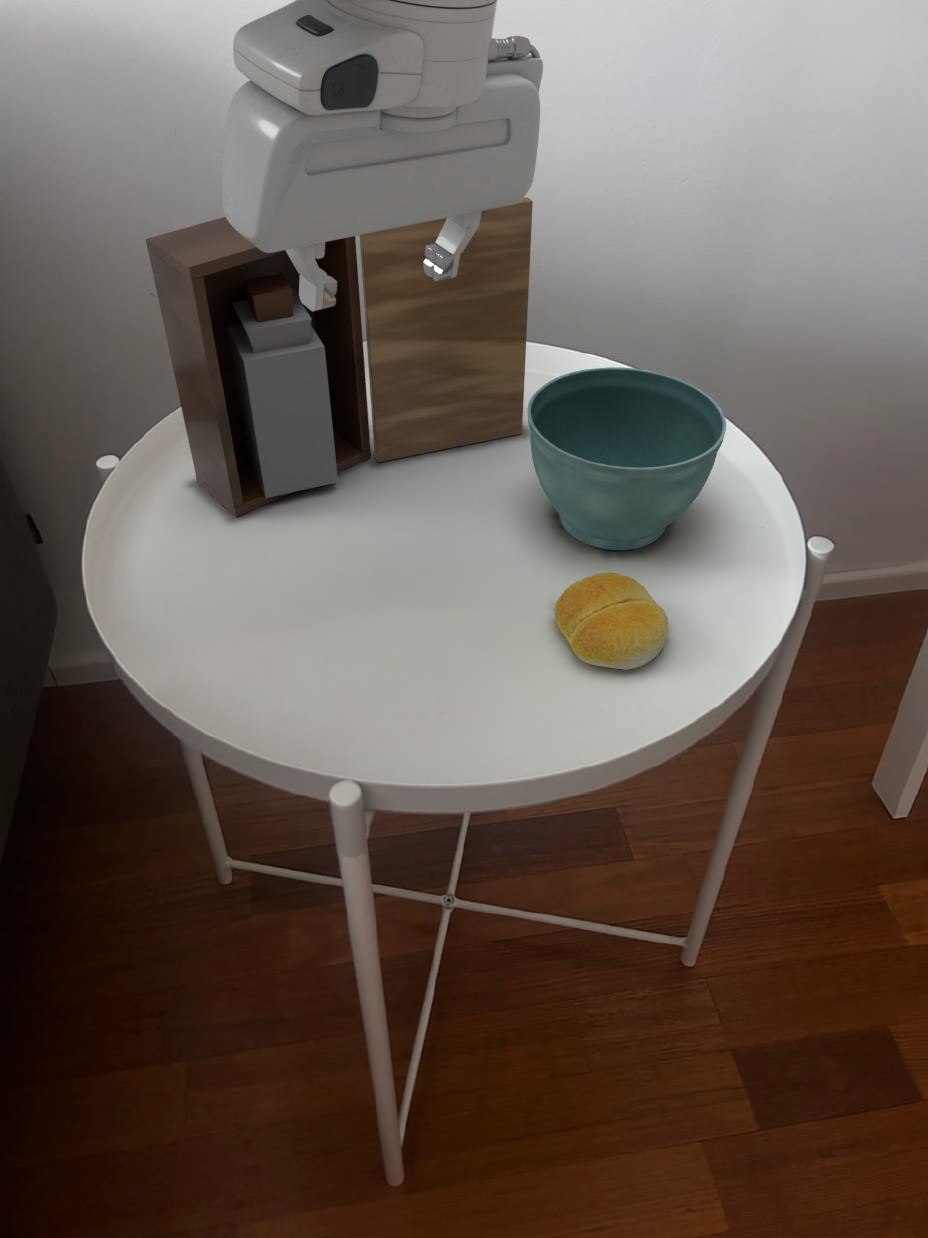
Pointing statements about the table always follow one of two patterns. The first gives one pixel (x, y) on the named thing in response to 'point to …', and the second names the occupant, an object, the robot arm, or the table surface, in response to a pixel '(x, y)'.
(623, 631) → the bread roll
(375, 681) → the table surface
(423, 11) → the robot arm
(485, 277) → the cupboard door
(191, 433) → the cupboard
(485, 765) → the table surface
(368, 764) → the table surface
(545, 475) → the flower pot
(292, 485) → the perfume bottle
